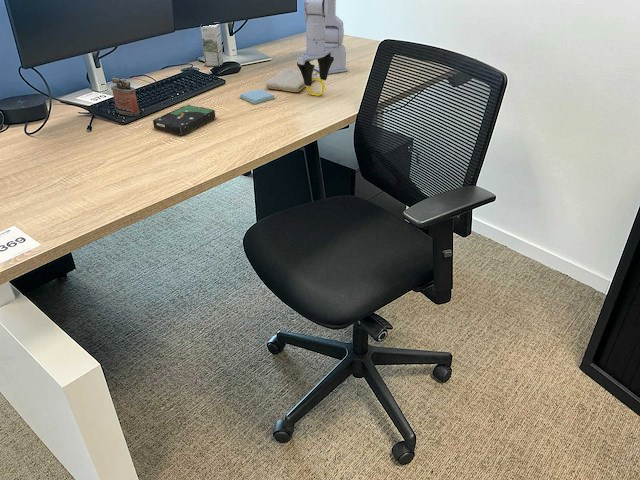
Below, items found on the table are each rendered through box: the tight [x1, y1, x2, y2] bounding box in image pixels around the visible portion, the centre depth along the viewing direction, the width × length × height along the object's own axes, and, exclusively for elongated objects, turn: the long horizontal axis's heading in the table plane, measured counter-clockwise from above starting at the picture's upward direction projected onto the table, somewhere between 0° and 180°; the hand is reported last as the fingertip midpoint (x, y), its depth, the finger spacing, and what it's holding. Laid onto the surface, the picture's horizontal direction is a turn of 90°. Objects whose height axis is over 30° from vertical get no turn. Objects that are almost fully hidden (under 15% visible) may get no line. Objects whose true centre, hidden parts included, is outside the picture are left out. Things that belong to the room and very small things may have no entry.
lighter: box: [110, 77, 141, 117], centre depth 155 cm, size 8×3×10 cm, turn 65°
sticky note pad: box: [239, 88, 275, 105], centre depth 168 cm, size 8×8×1 cm
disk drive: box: [152, 104, 216, 136], centre depth 150 cm, size 10×3×15 cm
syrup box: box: [200, 23, 224, 68], centre depth 194 cm, size 6×6×14 cm
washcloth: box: [265, 67, 318, 93], centre depth 180 cm, size 12×18×3 cm, turn 160°
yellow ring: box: [305, 75, 326, 97], centre depth 170 cm, size 6×3×6 cm, turn 67°
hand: (315, 82), depth 169 cm, fingers open, 7 cm apart
